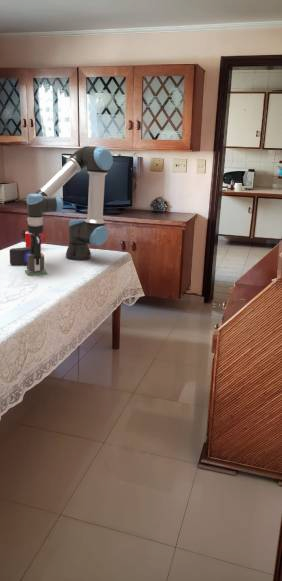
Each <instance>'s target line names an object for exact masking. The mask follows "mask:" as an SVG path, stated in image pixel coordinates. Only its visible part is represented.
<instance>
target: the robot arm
mask: <svg viewBox="0 0 282 581" xmlns="http://www.w3.org/2000/svg"><path fill="white" fill-rule="evenodd" d="M66 161H67V162H65V163H64V164H63V166H61V167H60V168H59V169H58V171H55V173H54V174H53V175H52V176H51V177H50V178H49V179H48V180H47V181H46V182H45V183H44V184H43V185H42V186H41V187H40V188H39V189H38V190H36V192H35V193H29V194H28V195H27V196H26V200H25V201H26V204H27V205H26V206H27V218H26V221H27V231H28V232H29V233H32V235H30V238H31V254H35V258H34V270H35V271H39V270H40V258H41V253H42V244H41V242H42V239H41V237H39V235H41V234H42V233H43V232H44V226H43V225H44V216H43V215H44V213H56V212H61V211H62V210H63V208H64V202H63V199H62V197H59V196H55V195H56V194H57V193H58V192H59V190H61V189H62V188H63V186H65V184H66V183H67V182H68V181H69V180H71V178H72V177H74V175H76V174H77V173H80V172H81V171H83V169H86V173H88V176H89V178H88V181H89V182H88V198H87V199H88V201H87V218H79V219H78V218H77V219H70V220H69V222H68V246H67V249H66V252H65V258H66V259H68V260H72V261H86V260H89V259H91V258H92V252H91V250H90V246H89V245H92V246H102V245H104V244H105V243H106V242H107V240H108V238H109V230H108V228H107V226H105V225H106V221H105V220H104V219H103V216H104V199H105V198H104V197H105V182H106V181H105V180H106V175H108V173H109V170H110V169H111V167H112V166H113V163H114V157H113V154H112V152H111V151H110V150H109V149H108V148H106V147H103V146H88V145H87V146H83V147H80V148H78V149H77V150H76V151H74V152H73V153H72V154H71V155H70V156H68V158H67V159H66Z"/></svg>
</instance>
